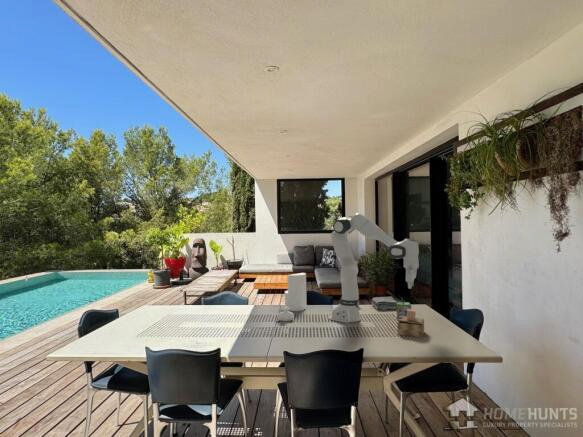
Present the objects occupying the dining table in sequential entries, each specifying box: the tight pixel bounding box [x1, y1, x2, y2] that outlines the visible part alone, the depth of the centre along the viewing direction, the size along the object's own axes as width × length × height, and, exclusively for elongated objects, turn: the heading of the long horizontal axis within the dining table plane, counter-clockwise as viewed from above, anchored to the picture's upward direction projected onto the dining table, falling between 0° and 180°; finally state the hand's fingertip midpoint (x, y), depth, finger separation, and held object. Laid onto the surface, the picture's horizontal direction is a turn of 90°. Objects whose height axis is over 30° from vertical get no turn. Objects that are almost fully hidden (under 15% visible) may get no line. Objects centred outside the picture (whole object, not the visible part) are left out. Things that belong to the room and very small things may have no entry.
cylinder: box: [284, 272, 308, 312], centre depth 272 cm, size 17×17×28 cm
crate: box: [397, 320, 425, 338], centre depth 207 cm, size 14×11×7 cm
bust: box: [276, 305, 295, 322], centre depth 236 cm, size 12×8×11 cm, turn 92°
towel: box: [371, 296, 398, 311], centre depth 271 cm, size 15×18×8 cm
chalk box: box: [396, 297, 412, 320], centre depth 235 cm, size 9×9×15 cm
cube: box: [407, 308, 416, 321], centre depth 207 cm, size 4×4×6 cm
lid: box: [397, 315, 425, 325], centre depth 207 cm, size 14×11×1 cm
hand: (410, 287), depth 212 cm, fingers open, 8 cm apart
